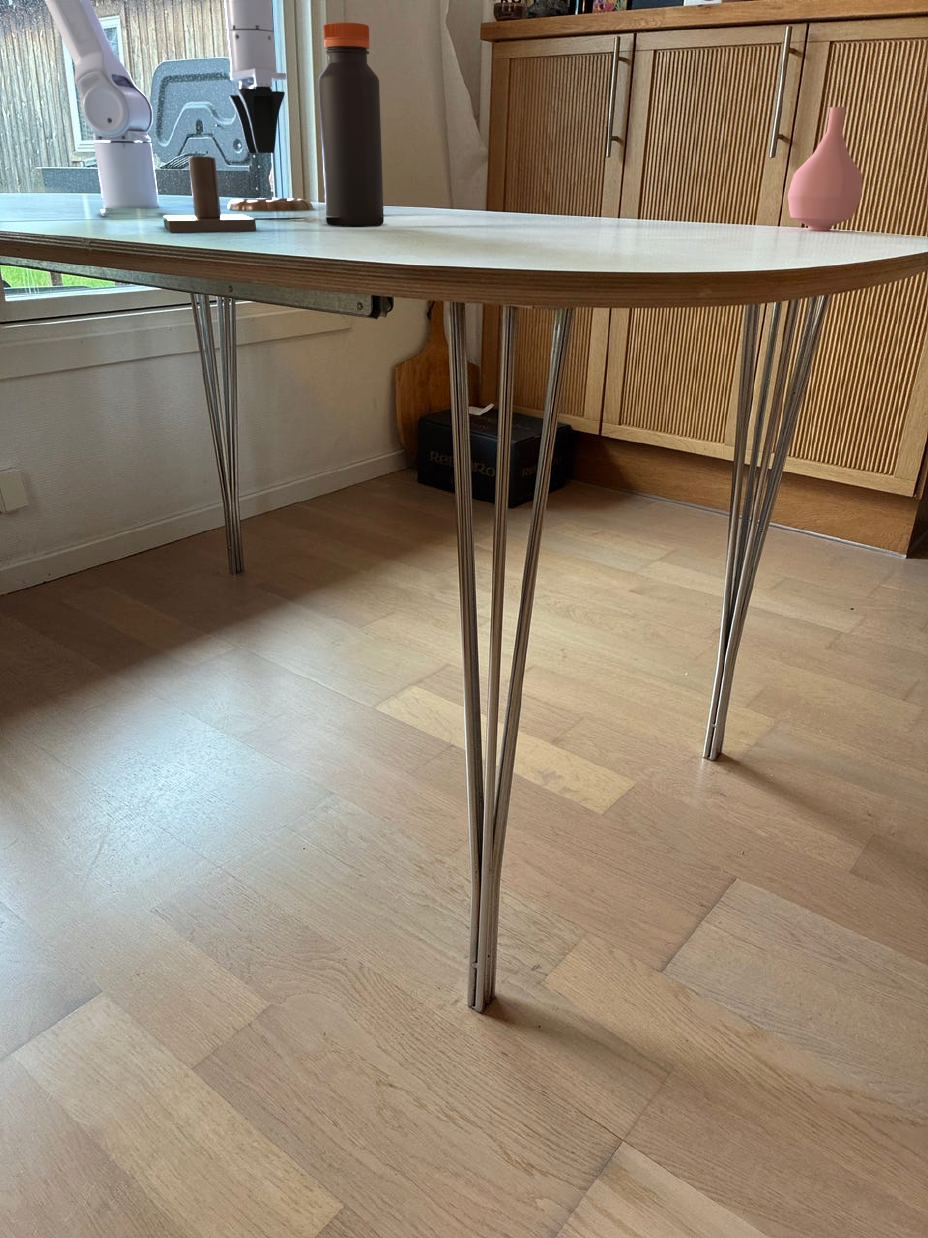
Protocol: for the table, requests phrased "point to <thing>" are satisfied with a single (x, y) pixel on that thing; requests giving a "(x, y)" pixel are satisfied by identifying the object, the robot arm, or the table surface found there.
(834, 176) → the pink vase
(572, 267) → the table surface
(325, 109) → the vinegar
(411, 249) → the table surface
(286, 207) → the scalloped wooden ring
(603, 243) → the table surface
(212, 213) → the wooden peg stand
